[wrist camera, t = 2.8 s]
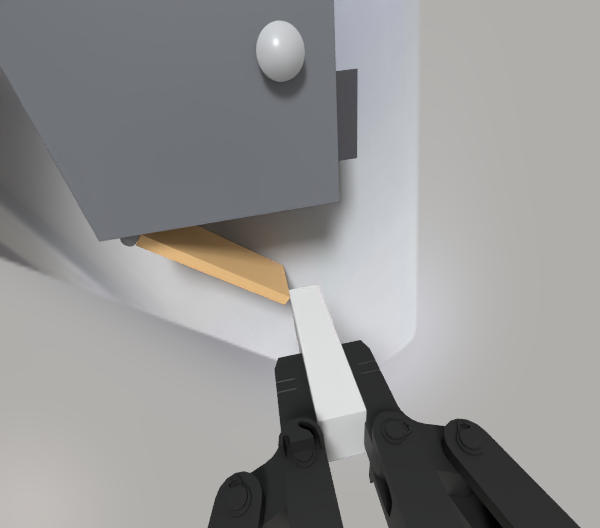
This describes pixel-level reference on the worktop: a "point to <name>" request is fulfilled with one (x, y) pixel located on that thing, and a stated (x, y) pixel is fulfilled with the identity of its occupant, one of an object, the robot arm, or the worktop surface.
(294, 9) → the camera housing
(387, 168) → the worktop surface
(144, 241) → the side door
